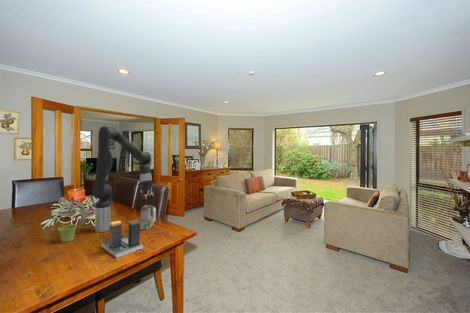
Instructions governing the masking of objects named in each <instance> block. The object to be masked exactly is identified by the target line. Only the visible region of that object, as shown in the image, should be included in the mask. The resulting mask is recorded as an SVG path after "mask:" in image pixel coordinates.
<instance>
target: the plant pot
mask: <svg viewBox="0 0 470 313" xmlns="http://www.w3.org/2000/svg"><path fill="white" fill-rule="evenodd" d="M77 227H78V225H77V224H66V225H62V226H60V227H58V228H57V230H58V232H59V236H60V242H61V243H65V244H66V243H70V242H72V241H73V240H74V239H75V233H76V230H77Z"/></svg>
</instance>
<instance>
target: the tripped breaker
mask: <svg viewBox="0 0 470 313" xmlns="http://www.w3.org/2000/svg"><path fill="white" fill-rule="evenodd" d="M122 225H123V224H122V221H120V220H116V221H112V222H111V221H110V229H109V240H110V241H109V247H111V248H115V247H118V246H121V237H122Z"/></svg>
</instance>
